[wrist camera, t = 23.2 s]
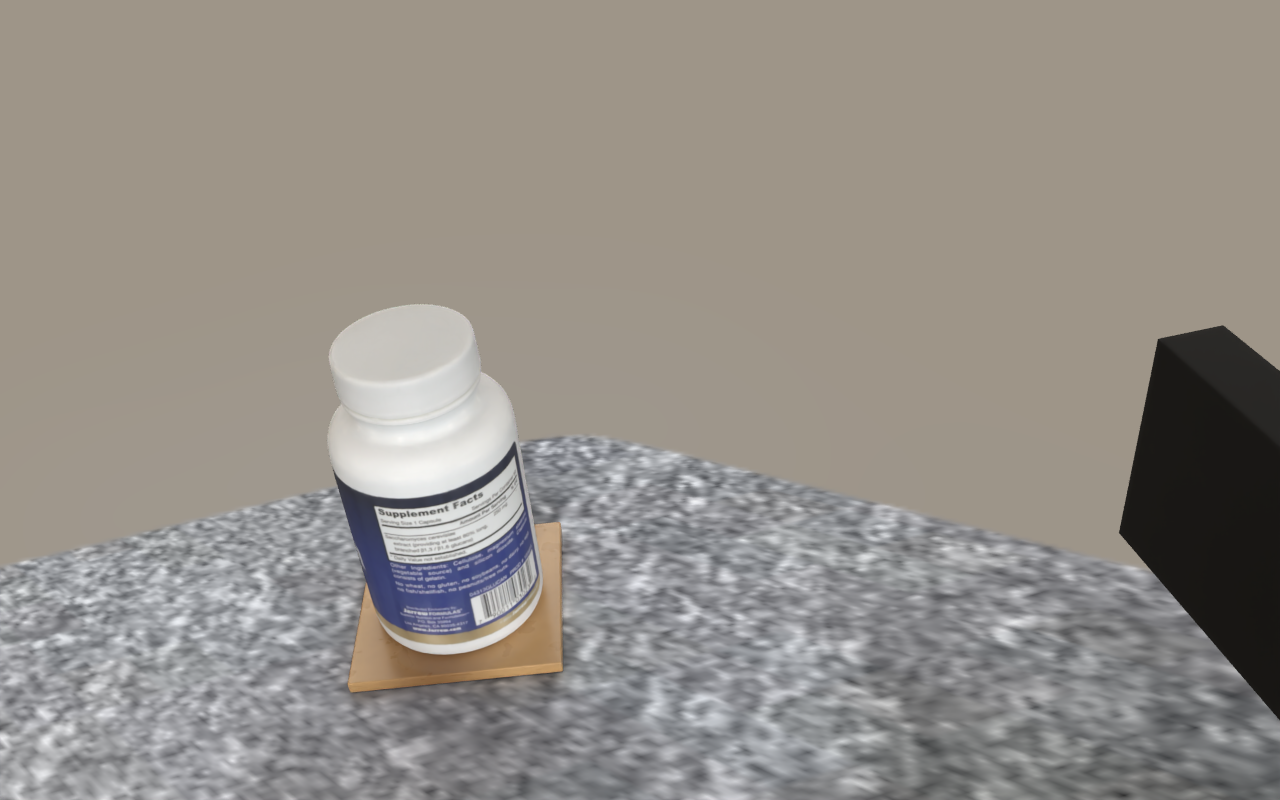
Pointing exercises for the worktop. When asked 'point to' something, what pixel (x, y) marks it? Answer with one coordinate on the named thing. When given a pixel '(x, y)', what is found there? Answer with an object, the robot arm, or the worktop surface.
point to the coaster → (514, 655)
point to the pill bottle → (432, 481)
